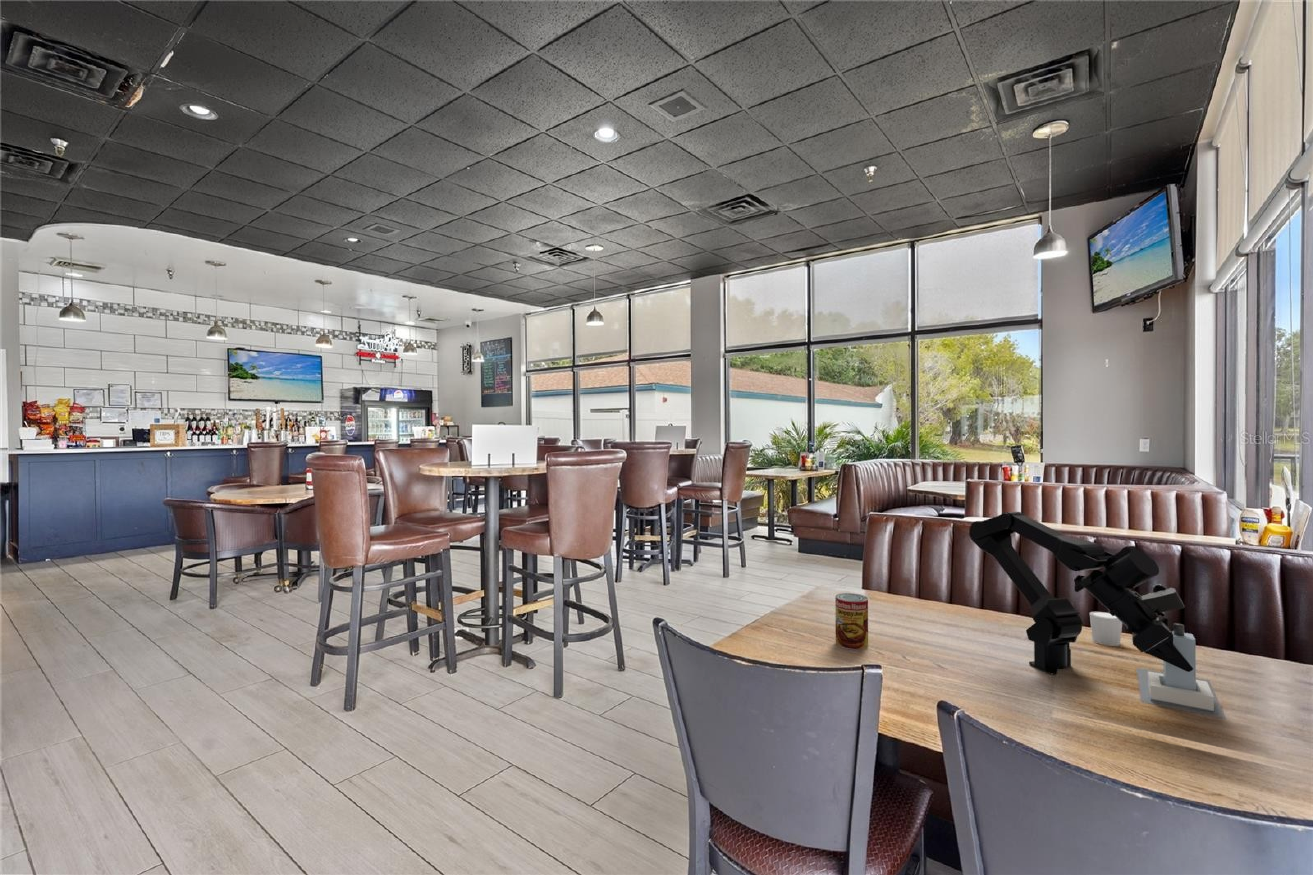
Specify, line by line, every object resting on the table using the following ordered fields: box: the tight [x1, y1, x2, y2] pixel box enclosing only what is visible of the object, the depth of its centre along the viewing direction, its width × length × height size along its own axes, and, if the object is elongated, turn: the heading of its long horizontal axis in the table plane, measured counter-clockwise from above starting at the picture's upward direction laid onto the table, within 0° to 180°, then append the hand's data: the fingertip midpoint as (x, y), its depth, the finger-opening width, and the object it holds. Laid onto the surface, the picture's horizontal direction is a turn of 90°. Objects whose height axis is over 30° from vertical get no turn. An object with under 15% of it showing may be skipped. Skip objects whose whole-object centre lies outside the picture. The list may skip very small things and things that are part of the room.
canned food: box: [834, 592, 869, 651], centre depth 152 cm, size 8×8×12 cm
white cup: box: [1089, 611, 1123, 647], centre depth 154 cm, size 7×7×7 cm
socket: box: [1148, 671, 1214, 714], centre depth 117 cm, size 9×9×3 cm
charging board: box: [1135, 667, 1227, 720], centre depth 121 cm, size 22×12×1 cm, turn 143°
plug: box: [1162, 622, 1197, 691], centre depth 117 cm, size 4×4×14 cm
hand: (1188, 663), depth 117 cm, fingers open, 9 cm apart
